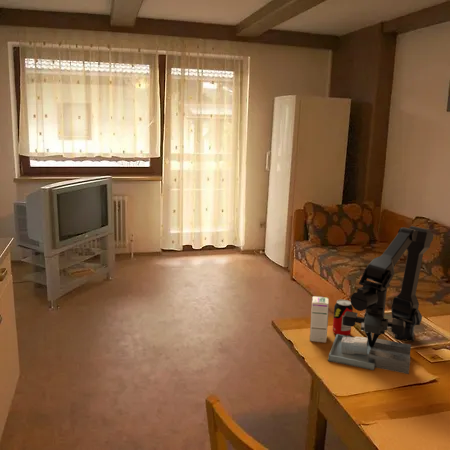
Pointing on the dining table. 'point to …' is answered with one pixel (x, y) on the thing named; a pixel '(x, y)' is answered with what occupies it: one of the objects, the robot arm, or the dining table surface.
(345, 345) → the brushed metal cube
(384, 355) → the slot plate
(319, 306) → the syrup box
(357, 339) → the grey cubic piece
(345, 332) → the beverage can
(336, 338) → the tray
